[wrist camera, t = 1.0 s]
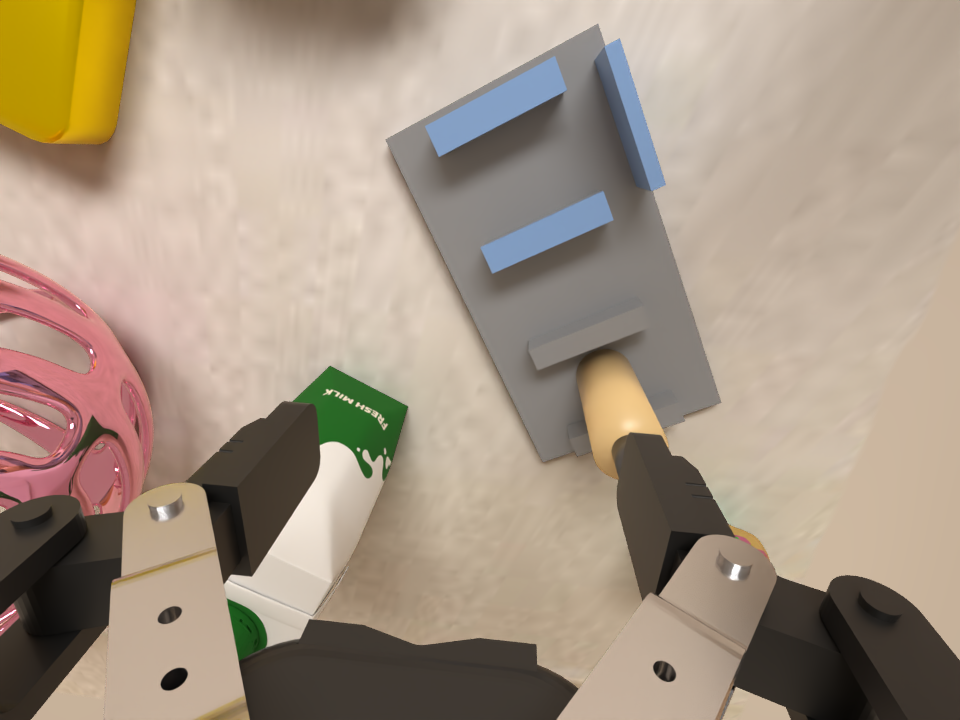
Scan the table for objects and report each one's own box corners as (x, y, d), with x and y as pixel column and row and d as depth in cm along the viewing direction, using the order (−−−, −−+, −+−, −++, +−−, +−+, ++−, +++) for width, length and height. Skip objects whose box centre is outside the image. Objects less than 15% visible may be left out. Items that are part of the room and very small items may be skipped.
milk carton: (286, 434, 42) (95, 656, 23) (324, 349, 38) (136, 529, 20) (378, 480, 43) (266, 728, 24) (424, 401, 39) (334, 619, 21)
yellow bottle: (621, 340, 35) (665, 427, 24) (639, 387, 36) (689, 490, 25) (568, 361, 36) (586, 453, 25) (587, 406, 37) (613, 513, 26)
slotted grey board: (595, 28, 29) (608, 3, 24) (716, 396, 37) (743, 430, 32) (389, 139, 32) (366, 137, 27) (542, 455, 40) (544, 494, 36)
